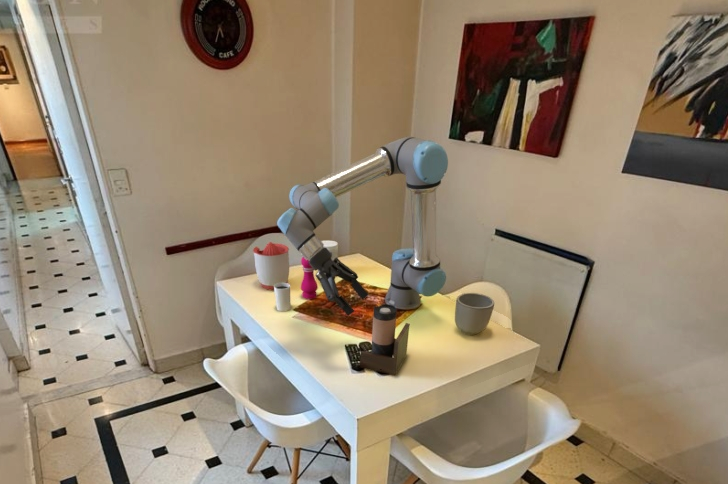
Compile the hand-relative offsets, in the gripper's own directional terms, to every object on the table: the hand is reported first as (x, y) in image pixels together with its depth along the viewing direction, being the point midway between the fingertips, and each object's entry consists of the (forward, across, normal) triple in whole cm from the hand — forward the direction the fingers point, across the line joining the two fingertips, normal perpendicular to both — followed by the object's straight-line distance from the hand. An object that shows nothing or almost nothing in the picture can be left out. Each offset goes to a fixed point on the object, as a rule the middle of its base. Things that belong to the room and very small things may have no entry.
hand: (358, 305), depth 152 cm
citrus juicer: (-27, -44, -55) cm, 75 cm away
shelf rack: (+20, 0, -7) cm, 22 cm away
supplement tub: (-14, -67, -42) cm, 80 cm away
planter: (+38, -34, +10) cm, 52 cm away
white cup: (-16, -24, -44) cm, 52 cm away
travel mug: (+20, 0, -7) cm, 22 cm away
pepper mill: (-12, -39, -40) cm, 57 cm away
